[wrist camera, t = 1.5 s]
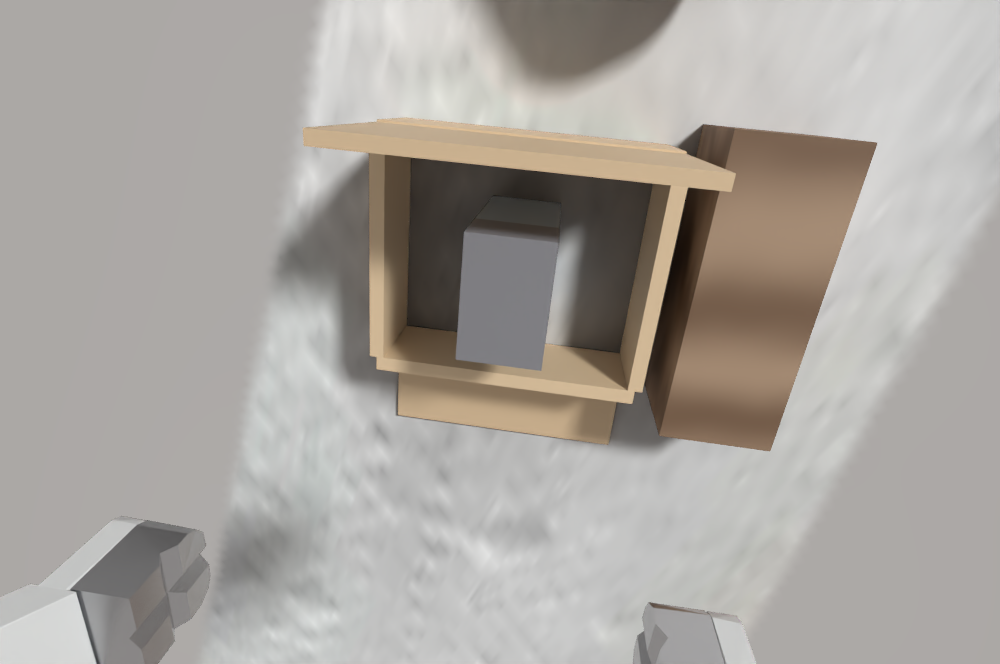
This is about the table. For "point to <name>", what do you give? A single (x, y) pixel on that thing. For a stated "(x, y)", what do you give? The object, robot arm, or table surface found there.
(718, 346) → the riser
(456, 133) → the light wooden open box
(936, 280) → the table surface
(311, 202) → the table surface
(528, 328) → the blue-grey rectangular block
